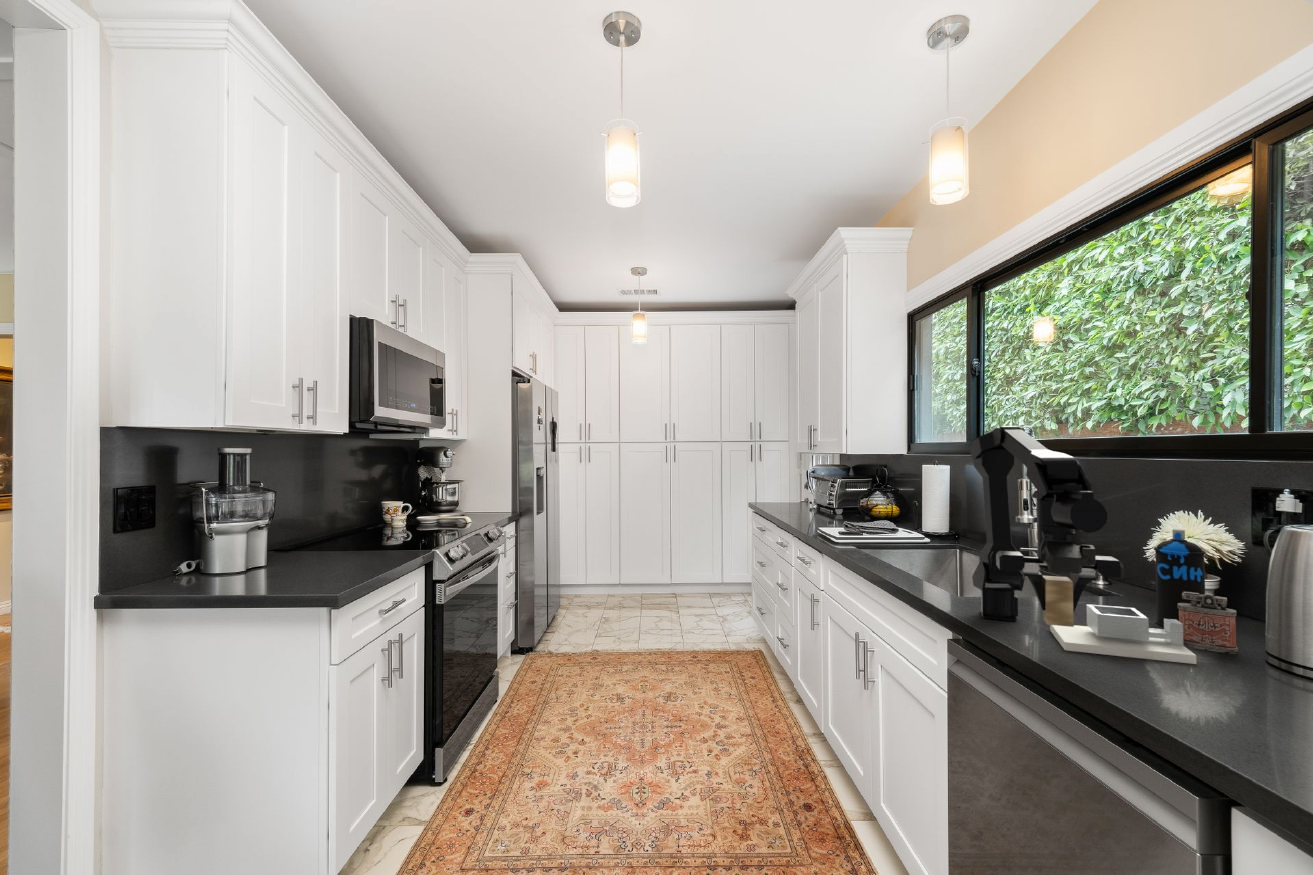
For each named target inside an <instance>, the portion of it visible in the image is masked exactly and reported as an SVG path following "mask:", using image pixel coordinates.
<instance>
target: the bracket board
mask: <svg viewBox="0 0 1313 875" xmlns="http://www.w3.org/2000/svg"><path fill="white" fill-rule="evenodd" d="M1049 630H1050V632H1051V634H1052V635H1053V636H1054V637H1055V639H1056V640H1057V641H1058V643H1059V644H1060V646H1061V648H1063V650H1064V651H1067V652H1069V651H1070V652H1077V653H1088V654H1099V655H1105V656H1106V655H1108V656H1114V657H1115V656H1116V657H1125V658H1132V659H1133V658H1134V659H1143V660H1144V659H1145V660H1154V661H1164V662H1171V663H1172V662H1173V663H1174V662H1175V663H1181V664H1182V663H1183V664H1193V665H1197V654H1195V653H1193V652H1192V651H1191V650H1190V649H1188V648H1187V646H1184V645H1183V646H1175V645H1170V644H1169V643H1167V642H1166V641H1165V640H1164V639H1159V638H1149V641H1145V640H1135V639H1124V638H1114V637H1103V636H1097V635H1096V634H1095V633H1094V631H1093V630H1092V629H1091V628H1090V627H1089V626H1088V625H1077V624H1076V625H1075V624H1074V627H1069V626H1058V625H1049Z"/></svg>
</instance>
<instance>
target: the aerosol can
mask: <svg viewBox="0 0 1313 875" xmlns="http://www.w3.org/2000/svg"><path fill="white" fill-rule="evenodd" d="M1171 531H1172V538H1171V539H1170V540H1169V539H1167V540H1164V541H1162V542H1160V543H1158V544H1157V545H1156V546H1154V547H1153V550H1154V552H1155V553H1154V555H1155V556H1154V557H1155V579H1156V580H1155V589H1156V590H1155V591H1156V620H1155V623H1156V624H1157V625H1159V626H1160V627H1161V626H1162V627H1164V619H1176V620H1178V621H1179V608H1178V603H1188V604H1191V601H1192V600H1189V599H1183V598H1182V593H1184V592H1192V593H1199V594H1200V595H1204V594H1205V593H1206V580H1205V579H1206V573H1205V568H1206V567H1205V555H1206V553H1207V552H1206V551H1205V550H1203V548H1201V547H1200V545H1198V544H1196V543H1194V542H1190V541H1189V540H1187V539H1186V530H1185V529H1180V528H1173V529H1172V530H1171ZM1196 601H1197V600H1196ZM1201 602H1202V601H1197V604H1198V605H1200V603H1201Z"/></svg>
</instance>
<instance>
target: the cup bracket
mask: <svg viewBox="0 0 1313 875" xmlns="http://www.w3.org/2000/svg"><path fill="white" fill-rule="evenodd" d="M1149 621H1150V620H1149V617H1147V616H1146V615H1144V614H1143V613H1141V611H1139V610H1137V608H1135V607H1126V606H1113V605H1100V604H1098V605H1097V604H1086V626H1088V627H1090V628H1091V629H1092V630H1093V631H1094V633H1095V634H1096V635H1097V636H1103V637H1114V638H1124V639H1135V640H1145V641H1149V638H1159V639H1164V640H1165V641H1166V642H1167V643H1169V644H1170V645H1175V646H1184V645H1183V624H1182V623H1181V622H1179V621H1178V620H1176V619H1164V626H1163V629H1162V628H1151V627H1149Z"/></svg>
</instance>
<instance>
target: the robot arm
mask: <svg viewBox="0 0 1313 875" xmlns="http://www.w3.org/2000/svg"><path fill="white" fill-rule="evenodd" d="M969 449H970V451H969V452H970V456H971V458H972V462H973V467H974V469H976V471H977V472H978V474H979V475H980V476H981V478H982V487H983V489H982V491H983V502H984V503H983V504H984V517H985V518H984V519H985V534H986V535H985V536H986V543H985V545H984V547H983V548H982V550H981V552H980V553H979V558H978V559H979V560H978V561H979V563H978V564H977V566H976V569H975V570H974V572H973V574H972V578H971V579H972V583H973V584H972V585H973V587H975V588H977V589H979V590H980V604H981V605H980V606H981V607H980V609H979V611H980V612H979V613H980V614H981V616H982V618H983V619H989V620H1001V621H1011V622H1016V621H1017V620H1018V619H1017V618H1018V617H1019V599H1018V596H1017V595H1015V593H1016V591H1019V592H1023V590H1024V585H1025V580H1026V577H1027V578H1028V581H1029V582H1030V584H1031V586H1032V588H1033V590H1034V593H1035V595H1036V596H1035V597H1036V598H1037V601H1038V603H1039V606H1040V607H1041V610H1042V611H1043V610H1044V611H1045V597H1044V590H1043V584H1042V576H1043V574H1042V573H1041V572H1040V568H1041V569H1047V570H1048V571H1050V572H1052V573H1055V574H1060V573H1070V574H1069V575H1070V578H1069V579H1070V580H1071V581H1073V614H1074V613H1075V611H1076V608H1077V606H1078V604H1079V602H1080V599H1081V596H1082V594H1083V592H1084V590H1085V588H1086V586H1087V585H1089V583H1090V582H1097V581H1098V577H1097V576H1096V573H1098V574H1099V575H1100V576H1102V577H1103V578H1104V577H1105V578H1117V579H1119V578H1120V579H1122V578H1125V567H1124V564H1123V563H1122V562H1121V561H1120V560H1118V559H1117V558H1115V557H1113V556H1111V555H1110V556H1109V555H1108V556H1105V555H1096V548H1095V546H1094V545H1093V544H1080V545H1078V542H1077V537H1076V531H1079V532H1083V533H1091V534H1092V533H1095V532H1098V531H1100V530H1102V529H1103V528H1104V526H1105V525H1106V524H1107V521H1108V512H1107V510H1106V508H1105V506H1104V505H1103V503H1102V502H1100V501H1098V500H1097V499H1095V496H1094V495H1095V493H1094V492H1093V490H1092V488H1091V487H1092V484H1091V482H1090V481H1089V479H1088V478H1087V476H1086V474H1085V473H1084V470H1083V468H1082V466H1081V464H1080V463H1079V461H1078V460H1077V459H1076V458H1075V457H1074V456H1072V455H1070V454H1067V453H1064V452H1059V451H1055V450H1054V451H1053V450H1050V449H1048V448H1047V447H1045V445H1043V444H1041V443H1040V442H1039V441H1037V440H1036V439H1035V438H1034V437H1032V436H1031V435H1030V434H1028V433H1027V431H1025V428H1024V427H1023V426H1019V425H999V426H997V427H994V429H993V430H992V431H990V432H987V433H984V434H982V435H980V436H978V437H977V438H975V440H974V441H973V442H972V443H971V445H970V448H969ZM1016 459H1017V460H1018V461H1019V462H1020V463H1021V464H1023V465H1024V466H1025V468H1026V473H1025V476H1026V477H1027V478H1028V480H1029V481H1030V482H1031V484H1032V485H1033V487H1034V488H1035V489H1036V490H1035V491H1034V492H1033V493H1032V495H1031V496H1032V498H1033V499H1036V535H1037V536H1036V537H1037V538H1036V539H1037V542H1036V543H1037V556H1024V555H1023V553H1022V552H1021V551H1018V550H1017V548H1016V547H1015V545H1014V544H1013V540H1012V528H1011V527H1012V526H1011V512H1010V511H1011V510H1010V501H1009V500H1010V499H1009V498H1010V497H1009V485H1008V477H1009V475H1010V473H1011V472H1012V470H1013V468H1014V467H1015V464H1016V461H1015V460H1016Z"/></svg>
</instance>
